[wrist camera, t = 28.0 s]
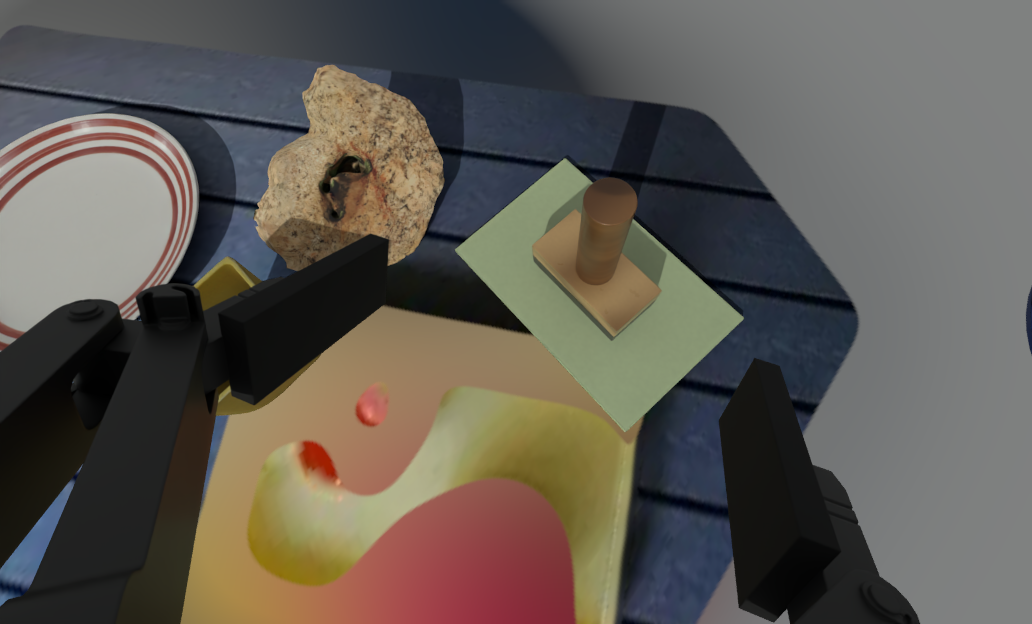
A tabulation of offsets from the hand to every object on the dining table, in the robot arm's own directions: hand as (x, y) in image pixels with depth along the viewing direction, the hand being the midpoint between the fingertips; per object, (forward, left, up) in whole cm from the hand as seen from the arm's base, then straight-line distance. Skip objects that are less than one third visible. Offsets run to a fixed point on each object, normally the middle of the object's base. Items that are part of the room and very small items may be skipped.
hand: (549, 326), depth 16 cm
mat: (+5, -9, -24) cm, 26 cm away
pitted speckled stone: (+25, +1, -24) cm, 35 cm away
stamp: (+5, -9, -23) cm, 25 cm away
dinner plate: (+43, +25, -24) cm, 55 cm away
